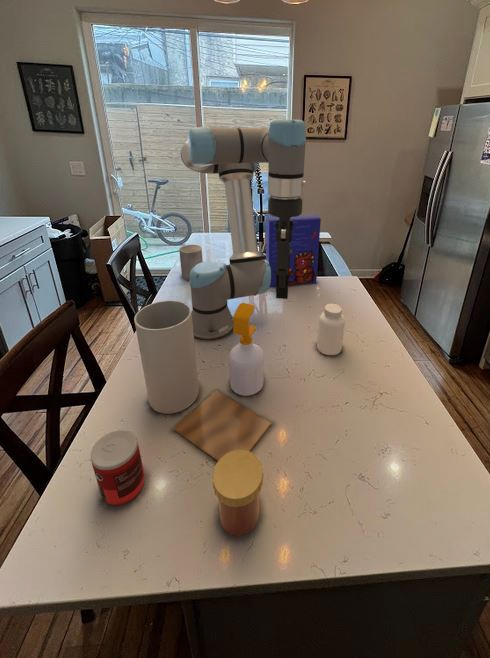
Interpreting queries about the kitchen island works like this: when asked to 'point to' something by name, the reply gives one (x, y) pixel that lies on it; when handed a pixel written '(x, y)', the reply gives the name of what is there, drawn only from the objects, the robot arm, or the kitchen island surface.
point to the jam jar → (239, 517)
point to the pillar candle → (189, 259)
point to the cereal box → (296, 249)
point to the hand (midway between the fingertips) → (282, 287)
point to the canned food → (118, 467)
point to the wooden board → (222, 426)
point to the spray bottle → (245, 355)
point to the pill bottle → (331, 330)
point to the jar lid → (237, 478)
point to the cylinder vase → (168, 355)
